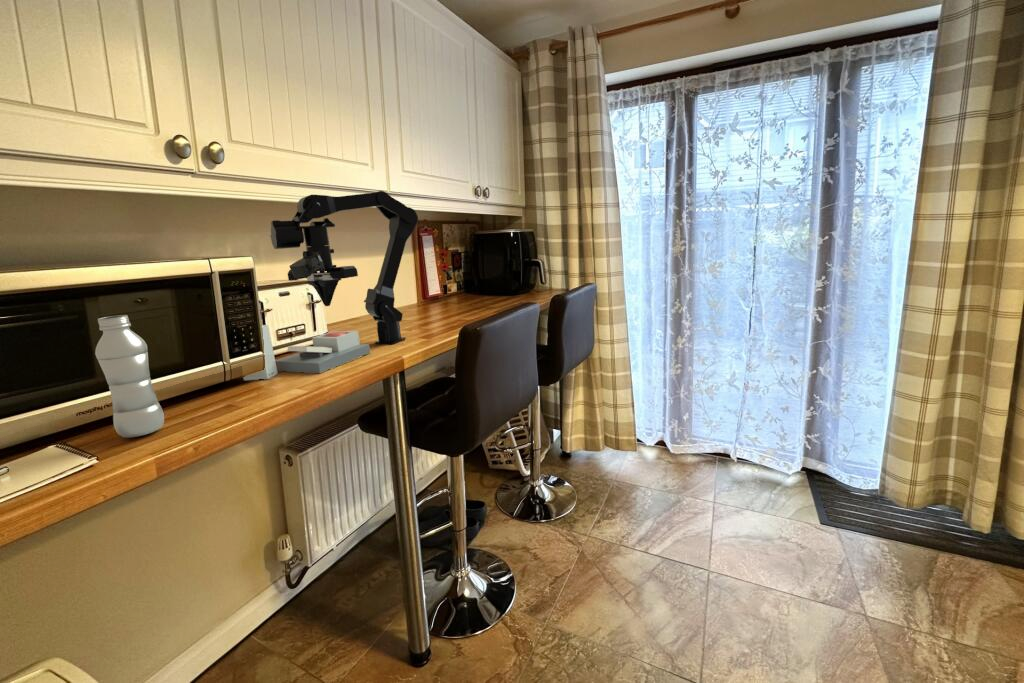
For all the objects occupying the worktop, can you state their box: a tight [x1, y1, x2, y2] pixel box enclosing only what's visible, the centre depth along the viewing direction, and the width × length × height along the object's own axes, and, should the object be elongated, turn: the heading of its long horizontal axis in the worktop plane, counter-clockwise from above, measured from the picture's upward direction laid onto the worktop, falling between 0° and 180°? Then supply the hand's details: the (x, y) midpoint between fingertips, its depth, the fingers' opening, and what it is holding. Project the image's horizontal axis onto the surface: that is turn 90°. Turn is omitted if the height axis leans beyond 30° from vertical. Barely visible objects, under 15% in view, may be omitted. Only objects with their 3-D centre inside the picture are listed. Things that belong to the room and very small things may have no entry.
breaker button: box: [325, 331, 346, 337], centre depth 123 cm, size 5×5×4 cm
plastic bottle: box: [94, 314, 165, 439], centre depth 77 cm, size 6×7×20 cm
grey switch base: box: [275, 330, 371, 374], centre depth 119 cm, size 18×14×6 cm
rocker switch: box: [287, 345, 332, 353], centre depth 115 cm, size 8×6×1 cm
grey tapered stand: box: [242, 324, 279, 381], centre depth 108 cm, size 6×4×12 cm
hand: (327, 306), depth 125 cm, fingers closed
